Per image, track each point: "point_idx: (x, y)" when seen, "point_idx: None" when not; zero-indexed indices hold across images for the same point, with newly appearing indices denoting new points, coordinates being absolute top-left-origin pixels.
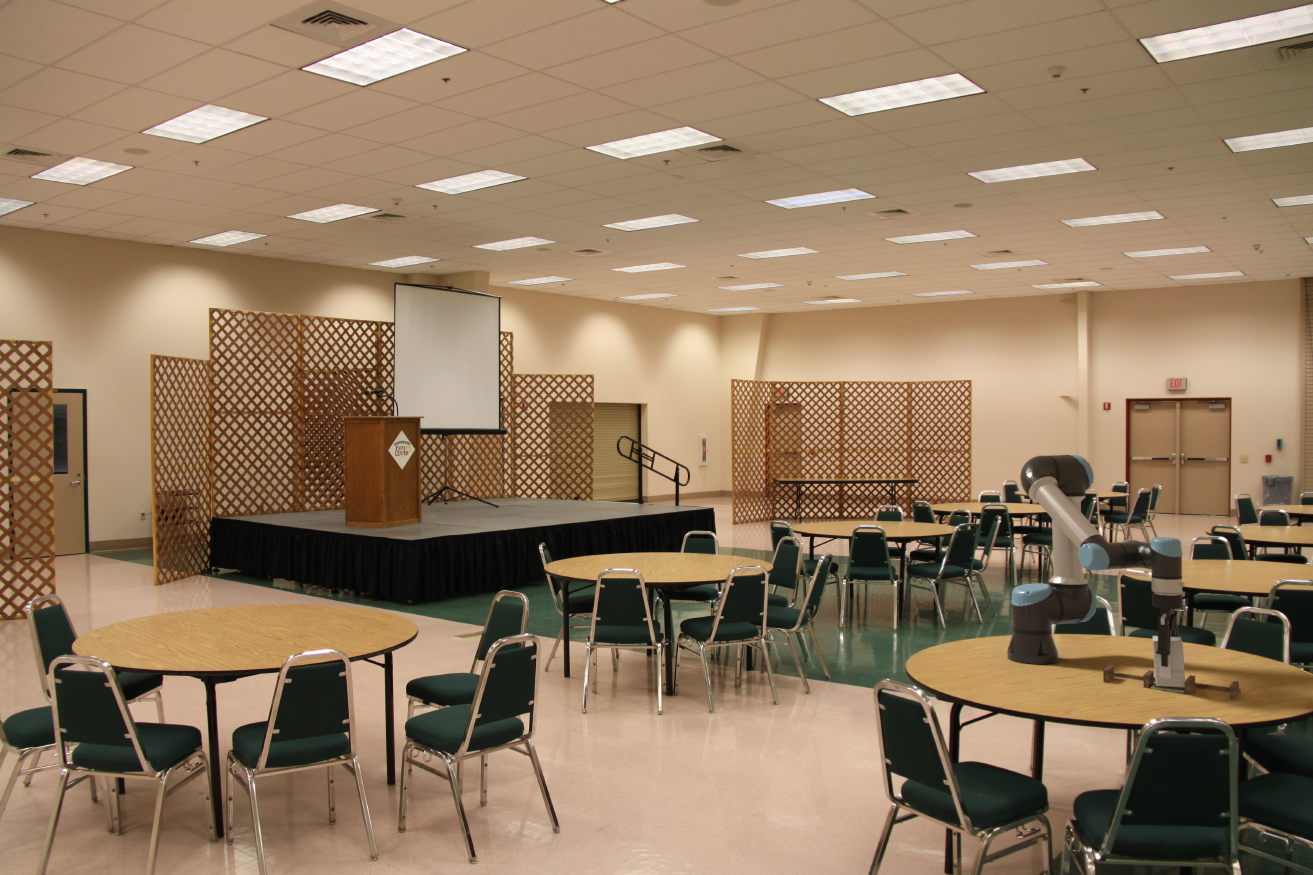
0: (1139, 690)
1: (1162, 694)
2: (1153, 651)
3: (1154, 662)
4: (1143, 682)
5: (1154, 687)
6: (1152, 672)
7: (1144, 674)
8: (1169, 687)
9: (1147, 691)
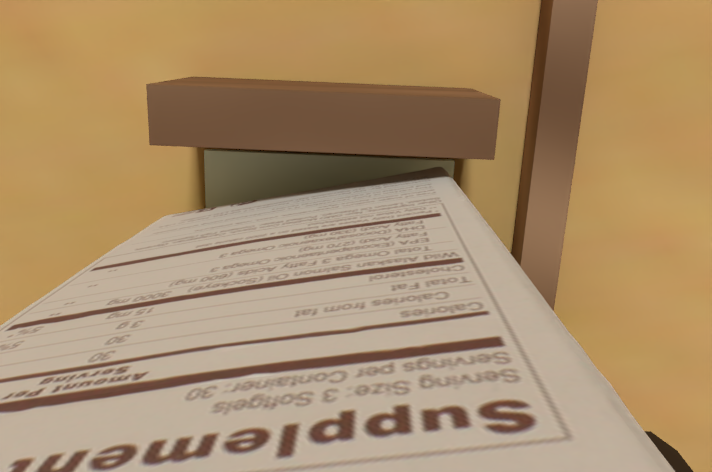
0: (36, 61)
1: (27, 278)
2: (69, 357)
3: (38, 301)
4: (176, 79)
5: (216, 182)
6: (423, 154)
7: (189, 92)
8: None
9: (49, 140)
